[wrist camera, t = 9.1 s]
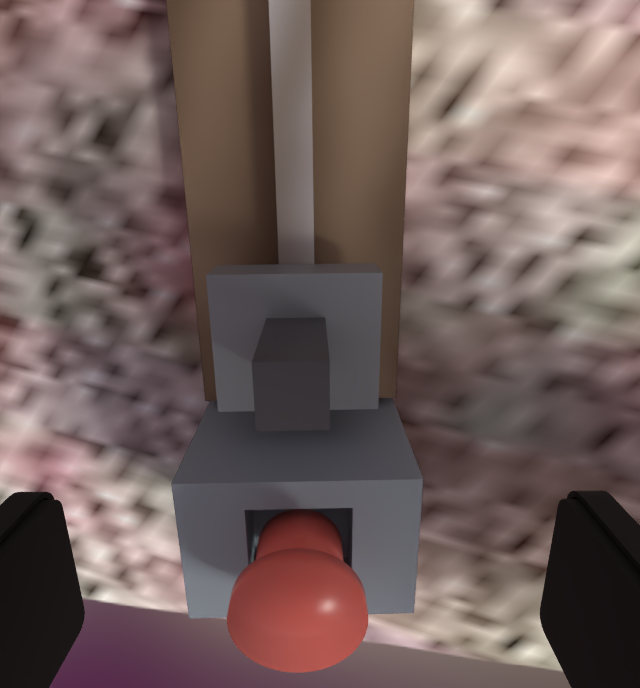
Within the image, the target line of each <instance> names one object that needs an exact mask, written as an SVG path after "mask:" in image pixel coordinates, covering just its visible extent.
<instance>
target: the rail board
mask: <svg viewBox="0 0 640 688" xmlns="http://www.w3.org/2000/svg"><path fill="white" fill-rule="evenodd" d="M166 5H167V15H168V25H169V35H170V45H171V56H172V66H173V76H174V86H175V96H176V107H177V117H178V127H179V137H180V147H181V157H182V168H183V178H184V188H185V198H186V208H187V218H188V229H189V239H190V249H191V259H192V269H193V280H194V290H195V300H196V310H197V320H198V330H199V341H200V351H201V361H202V371H203V381H204V392H205V401H217V394H216V383H215V372H214V360H213V349H212V338H211V327H210V316H209V305H208V293H207V282H206V275H207V274H208V273H209V272H210V271H211V270H212V269H214V268H215V267H216V266H217V265H275V264H350V263H375V264H376V265H377V266H378V267H379V269H380V270H381V271H382V272H383V281H382V312H381V342H380V372H379V398H396V386H397V364H398V342H399V320H400V298H401V277H402V255H403V233H404V211H405V190H406V168H407V146H408V124H409V103H410V81H411V59H412V37H413V16H414V0H166Z"/></svg>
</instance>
